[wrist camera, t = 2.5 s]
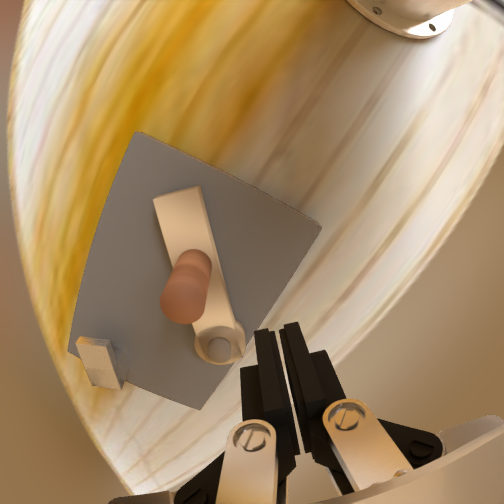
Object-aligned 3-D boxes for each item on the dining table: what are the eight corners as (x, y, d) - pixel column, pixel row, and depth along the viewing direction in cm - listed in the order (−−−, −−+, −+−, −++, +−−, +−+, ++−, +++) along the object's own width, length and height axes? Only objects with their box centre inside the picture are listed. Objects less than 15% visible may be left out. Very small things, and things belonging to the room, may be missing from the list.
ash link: (249, 348, 25) (253, 408, 18) (204, 355, 25) (197, 415, 18) (207, 183, 20) (193, 202, 13) (152, 197, 20) (116, 222, 13)
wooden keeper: (118, 324, 23) (106, 346, 20) (129, 367, 25) (121, 390, 22) (89, 322, 23) (75, 343, 20) (102, 364, 25) (92, 385, 22)
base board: (141, 132, 20) (134, 131, 18) (317, 222, 23) (322, 227, 21) (73, 342, 26) (67, 351, 24) (201, 400, 29) (199, 410, 28)
